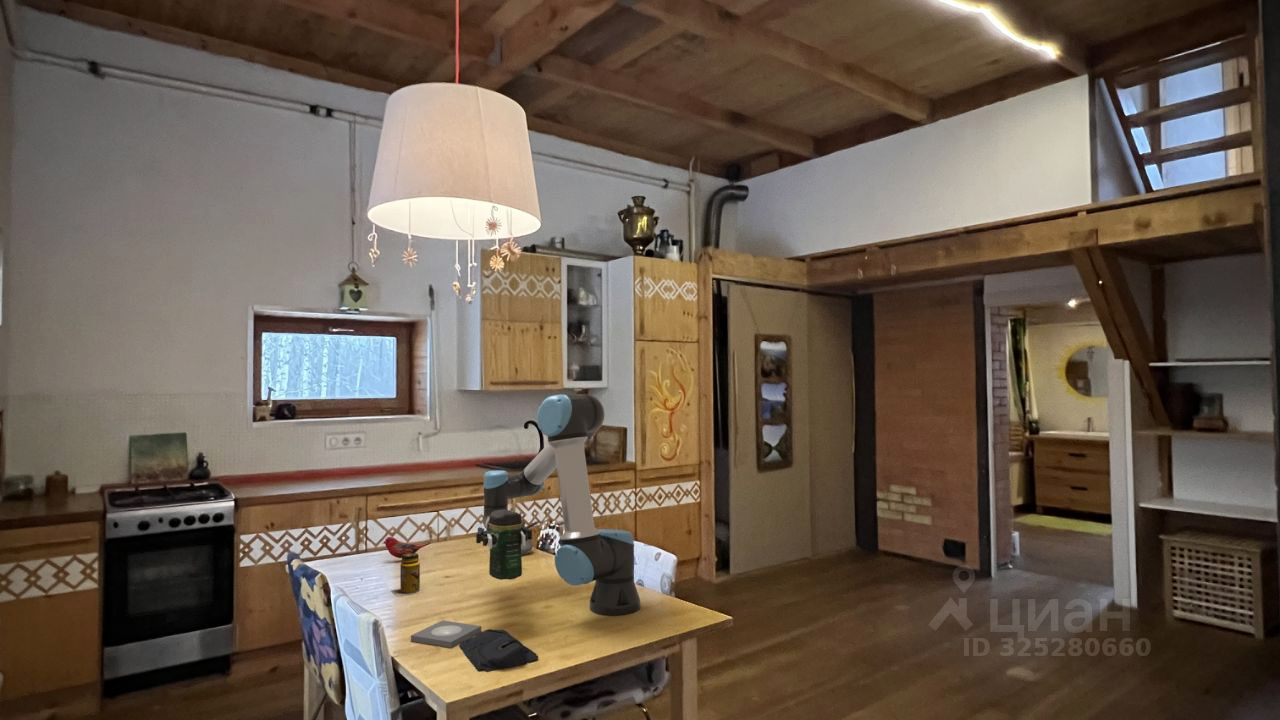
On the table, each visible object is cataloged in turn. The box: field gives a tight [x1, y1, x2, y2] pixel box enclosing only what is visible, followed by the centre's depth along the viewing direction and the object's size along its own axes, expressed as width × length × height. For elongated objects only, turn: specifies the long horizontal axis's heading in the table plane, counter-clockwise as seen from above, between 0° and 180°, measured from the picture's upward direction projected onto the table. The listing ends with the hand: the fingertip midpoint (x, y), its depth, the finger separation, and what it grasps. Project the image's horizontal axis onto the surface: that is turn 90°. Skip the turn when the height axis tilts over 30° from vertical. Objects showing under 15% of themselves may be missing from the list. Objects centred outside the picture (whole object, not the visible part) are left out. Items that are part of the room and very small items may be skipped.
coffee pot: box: [521, 519, 542, 557], centre depth 285 cm, size 21×12×15 cm, turn 40°
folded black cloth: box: [458, 628, 539, 673], centre depth 184 cm, size 15×22×5 cm
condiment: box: [391, 552, 424, 597], centre depth 238 cm, size 7×8×12 cm
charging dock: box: [410, 620, 482, 649], centre depth 196 cm, size 13×13×2 cm
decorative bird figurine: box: [382, 536, 432, 563], centre depth 277 cm, size 3×18×10 cm, turn 115°
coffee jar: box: [488, 509, 523, 581], centre depth 206 cm, size 10×8×19 cm
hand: (507, 542), depth 202 cm, fingers closed on coffee jar, 8 cm apart
